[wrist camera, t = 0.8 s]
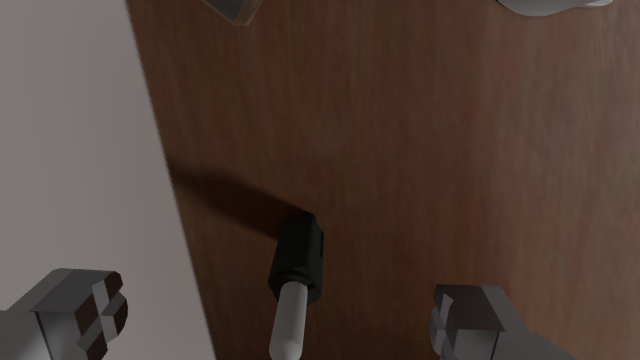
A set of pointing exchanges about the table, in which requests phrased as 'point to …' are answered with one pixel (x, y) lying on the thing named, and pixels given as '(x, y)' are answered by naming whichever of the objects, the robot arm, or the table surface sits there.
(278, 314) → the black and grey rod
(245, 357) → the table surface
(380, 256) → the table surface
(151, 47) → the table surface
